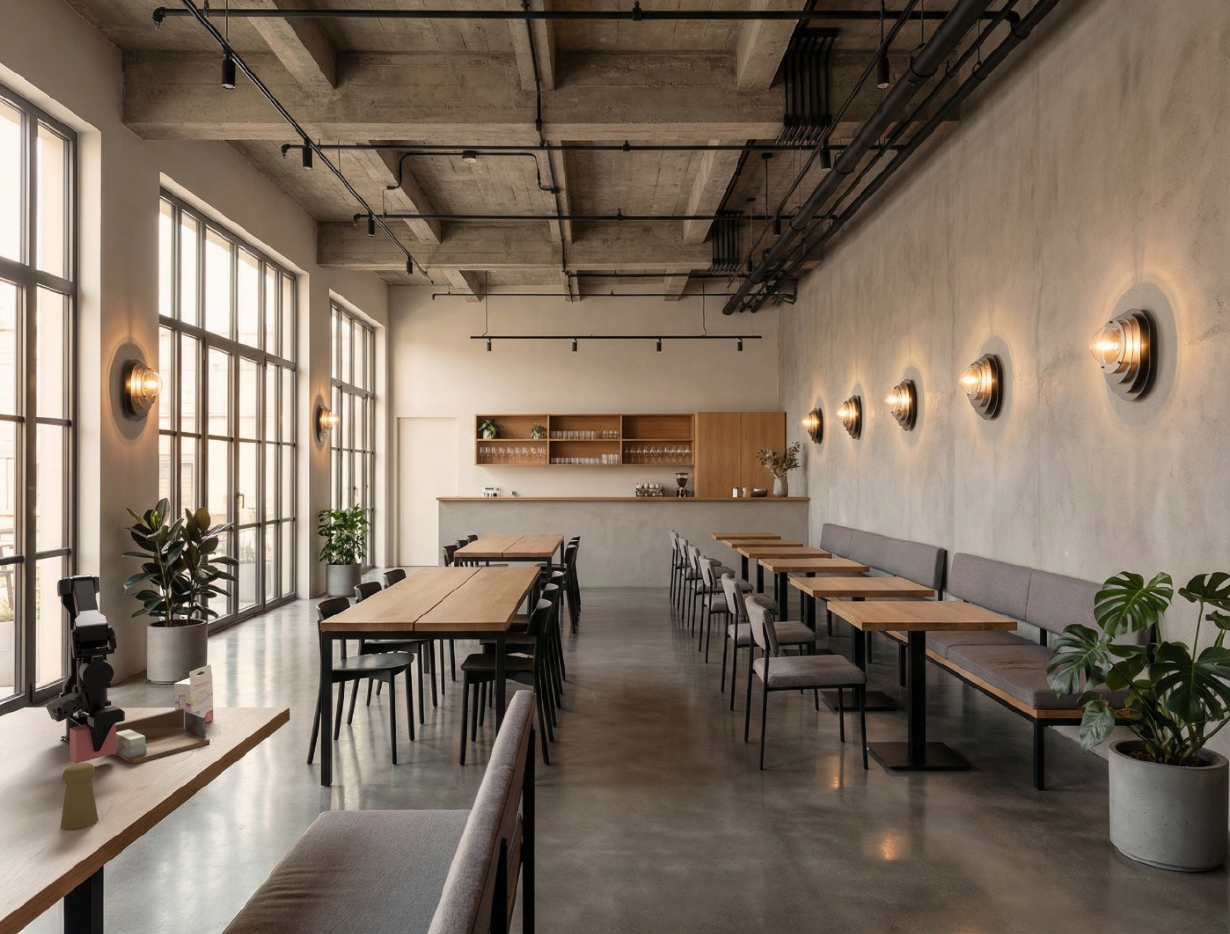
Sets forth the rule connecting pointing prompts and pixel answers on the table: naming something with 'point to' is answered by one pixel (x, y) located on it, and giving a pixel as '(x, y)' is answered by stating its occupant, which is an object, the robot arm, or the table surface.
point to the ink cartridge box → (196, 693)
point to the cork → (78, 797)
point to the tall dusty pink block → (89, 744)
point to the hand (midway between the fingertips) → (93, 749)
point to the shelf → (159, 735)
